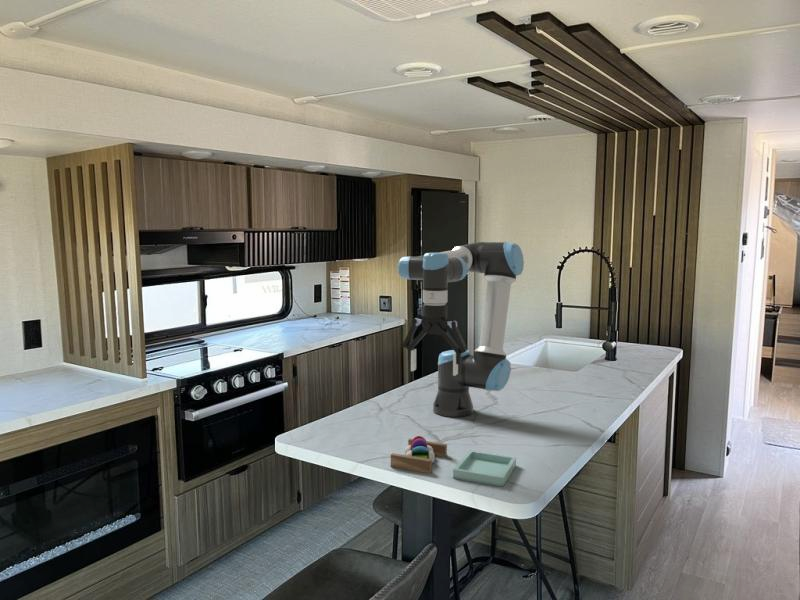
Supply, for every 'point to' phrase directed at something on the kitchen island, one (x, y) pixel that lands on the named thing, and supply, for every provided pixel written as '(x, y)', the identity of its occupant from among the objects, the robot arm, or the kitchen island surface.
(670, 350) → the kitchen island surface
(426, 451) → the rainbow disc toy
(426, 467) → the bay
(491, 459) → the tray
